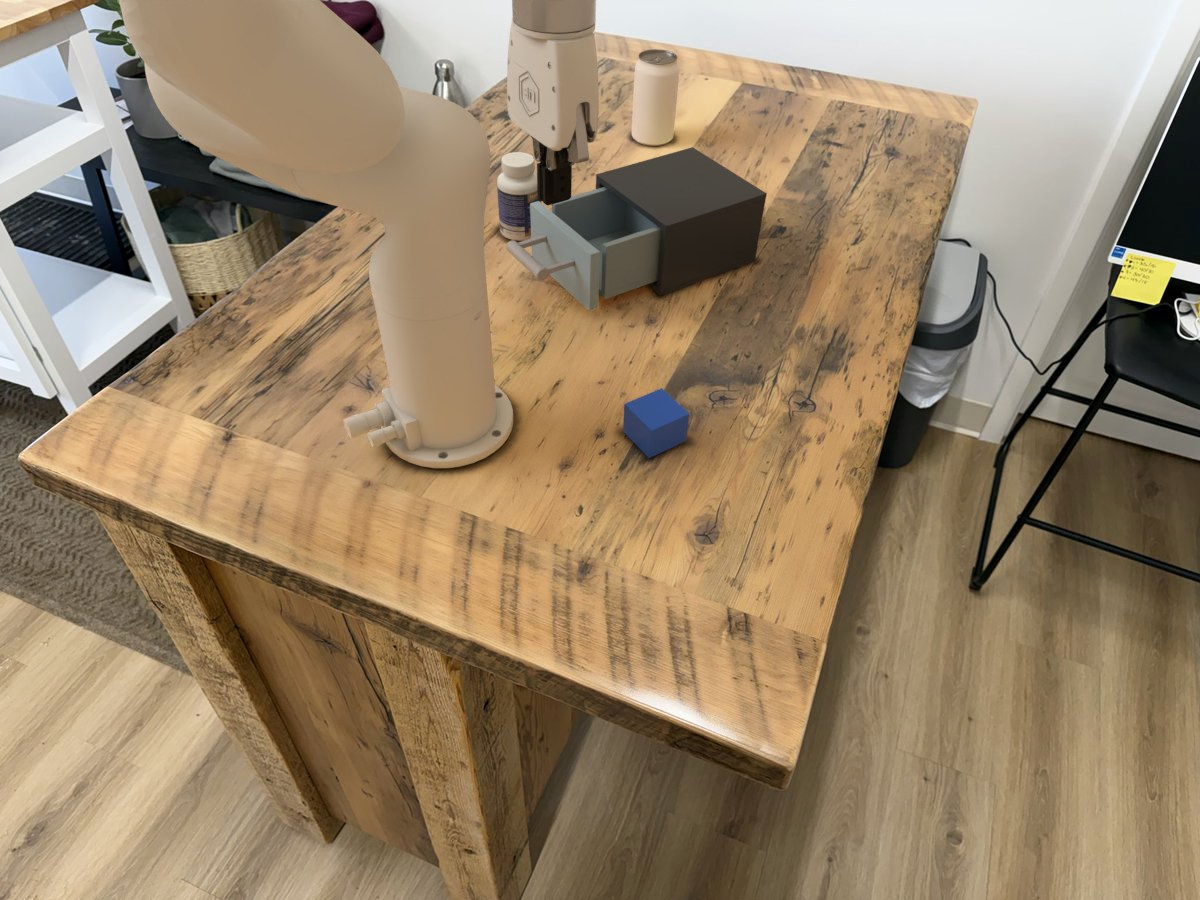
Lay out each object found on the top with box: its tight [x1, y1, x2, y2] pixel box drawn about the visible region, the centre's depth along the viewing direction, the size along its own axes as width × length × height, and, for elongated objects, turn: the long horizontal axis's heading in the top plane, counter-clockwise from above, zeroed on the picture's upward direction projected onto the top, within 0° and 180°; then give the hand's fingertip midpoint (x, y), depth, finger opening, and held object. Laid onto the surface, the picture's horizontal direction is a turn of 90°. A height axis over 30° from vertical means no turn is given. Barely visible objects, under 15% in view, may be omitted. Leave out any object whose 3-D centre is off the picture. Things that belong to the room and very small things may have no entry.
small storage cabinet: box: [595, 147, 767, 297], centre depth 102 cm, size 15×14×9 cm
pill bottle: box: [496, 151, 542, 242], centre depth 104 cm, size 5×5×10 cm
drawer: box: [505, 187, 662, 312], centre depth 97 cm, size 18×13×7 cm
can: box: [631, 48, 680, 147], centre depth 124 cm, size 6×6×12 cm
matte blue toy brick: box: [622, 388, 690, 459], centre depth 80 cm, size 4×4×4 cm
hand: (554, 199), depth 88 cm, fingers closed
